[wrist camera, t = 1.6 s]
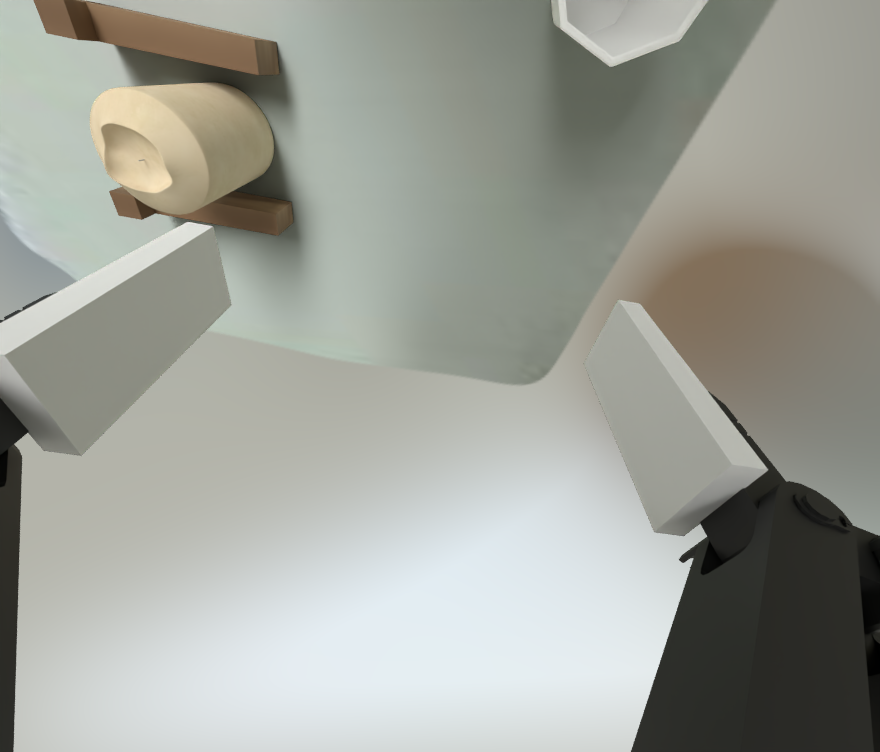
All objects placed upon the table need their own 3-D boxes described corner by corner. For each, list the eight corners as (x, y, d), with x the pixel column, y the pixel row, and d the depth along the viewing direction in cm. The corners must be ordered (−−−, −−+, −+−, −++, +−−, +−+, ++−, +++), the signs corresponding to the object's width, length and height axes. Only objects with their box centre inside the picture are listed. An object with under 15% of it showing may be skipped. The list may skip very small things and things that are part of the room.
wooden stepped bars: (99, 3, 21) (29, -10, 17) (276, 42, 21) (241, 37, 18) (160, 197, 28) (118, 215, 24) (293, 222, 28) (270, 242, 25)
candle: (227, 188, 27) (134, 236, 19) (172, 100, 24) (34, 115, 16) (290, 165, 26) (218, 205, 18) (242, 67, 22) (128, 67, 15)
